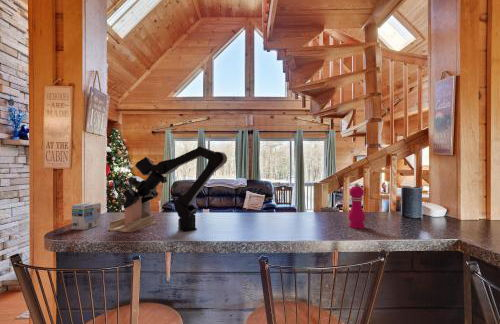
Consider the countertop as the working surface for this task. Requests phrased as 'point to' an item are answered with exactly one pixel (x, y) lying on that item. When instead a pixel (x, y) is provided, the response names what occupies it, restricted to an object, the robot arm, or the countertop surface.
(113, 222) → the book trough
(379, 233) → the countertop surface
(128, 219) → the salmon pink rectangular block
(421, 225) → the countertop surface
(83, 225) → the light bulb box
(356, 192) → the pepper mill
